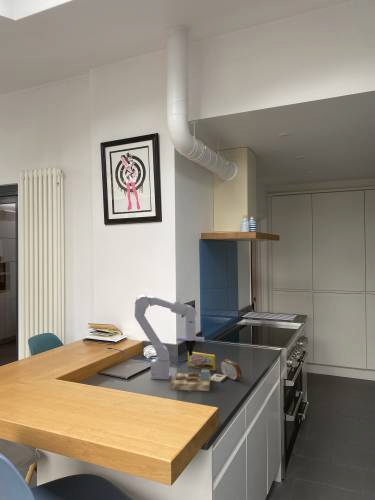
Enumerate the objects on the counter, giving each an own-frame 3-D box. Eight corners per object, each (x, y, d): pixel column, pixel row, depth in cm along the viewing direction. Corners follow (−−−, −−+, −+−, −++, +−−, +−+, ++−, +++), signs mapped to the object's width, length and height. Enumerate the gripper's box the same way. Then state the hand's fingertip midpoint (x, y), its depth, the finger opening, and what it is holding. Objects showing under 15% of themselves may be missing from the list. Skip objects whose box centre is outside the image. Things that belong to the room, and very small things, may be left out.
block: (200, 380, 179) (200, 372, 179) (201, 377, 183) (201, 369, 183) (209, 380, 178) (209, 372, 178) (209, 377, 182) (209, 369, 182)
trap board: (170, 389, 175) (170, 380, 175) (175, 379, 189) (175, 370, 189) (209, 390, 173) (209, 381, 173) (210, 380, 187) (210, 371, 187)
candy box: (187, 366, 209) (187, 351, 209) (189, 365, 211) (189, 350, 211) (213, 370, 202) (213, 355, 202) (215, 369, 204) (215, 354, 204)
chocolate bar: (234, 370, 200) (222, 381, 184) (234, 372, 200) (222, 383, 184) (218, 368, 204) (205, 378, 188) (218, 370, 204) (205, 380, 188)
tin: (242, 381, 185) (242, 364, 185) (237, 382, 184) (236, 365, 184) (224, 372, 198) (224, 357, 198) (219, 373, 197) (219, 358, 197)
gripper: (175, 330, 192) (176, 357, 192) (203, 330, 190) (204, 357, 190) (177, 327, 199) (177, 353, 199) (204, 327, 197) (204, 353, 197)
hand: (190, 355), depth 195 cm, fingers closed
